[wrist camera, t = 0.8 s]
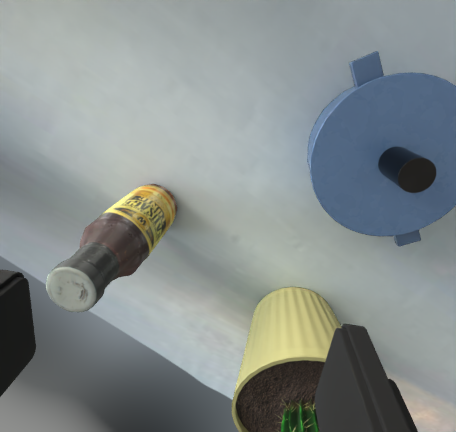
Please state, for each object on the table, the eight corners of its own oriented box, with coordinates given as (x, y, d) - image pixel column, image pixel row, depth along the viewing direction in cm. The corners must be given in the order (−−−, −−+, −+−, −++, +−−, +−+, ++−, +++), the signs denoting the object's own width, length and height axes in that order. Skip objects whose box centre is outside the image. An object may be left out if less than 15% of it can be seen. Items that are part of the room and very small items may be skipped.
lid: (333, 249, 37) (346, 280, 32) (287, 113, 32) (294, 120, 27) (486, 203, 34) (532, 228, 28) (463, 42, 29) (513, 33, 23)
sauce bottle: (188, 207, 43) (136, 303, 24) (155, 235, 45) (83, 343, 26) (152, 169, 41) (67, 240, 23) (119, 199, 43) (17, 287, 25)
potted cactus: (371, 304, 46) (541, 646, 18) (309, 375, 52) (366, 716, 24) (274, 254, 44) (298, 545, 17) (220, 333, 50) (173, 646, 22)
